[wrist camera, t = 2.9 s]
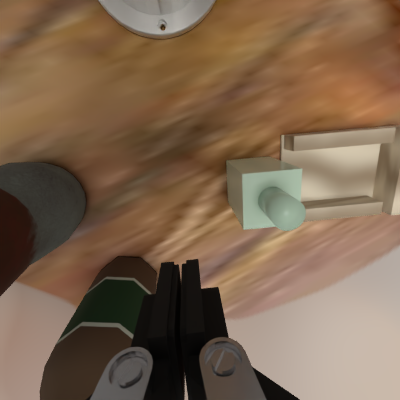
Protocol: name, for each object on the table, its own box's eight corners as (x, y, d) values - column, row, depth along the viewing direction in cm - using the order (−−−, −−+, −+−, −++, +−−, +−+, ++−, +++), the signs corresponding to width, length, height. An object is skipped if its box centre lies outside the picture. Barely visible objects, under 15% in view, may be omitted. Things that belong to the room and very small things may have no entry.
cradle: (280, 135, 26) (294, 136, 23) (393, 125, 26) (422, 125, 23) (278, 214, 29) (290, 225, 26) (380, 204, 29) (404, 213, 26)
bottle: (226, 160, 27) (254, 184, 16) (269, 156, 27) (326, 177, 16) (227, 201, 28) (254, 249, 17) (268, 197, 28) (321, 243, 17)
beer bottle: (113, 243, 29) (-163, 689, 6) (169, 267, 30) (118, 697, 8) (90, 290, 31) (-186, 765, 8) (144, 311, 32) (43, 759, 9)
